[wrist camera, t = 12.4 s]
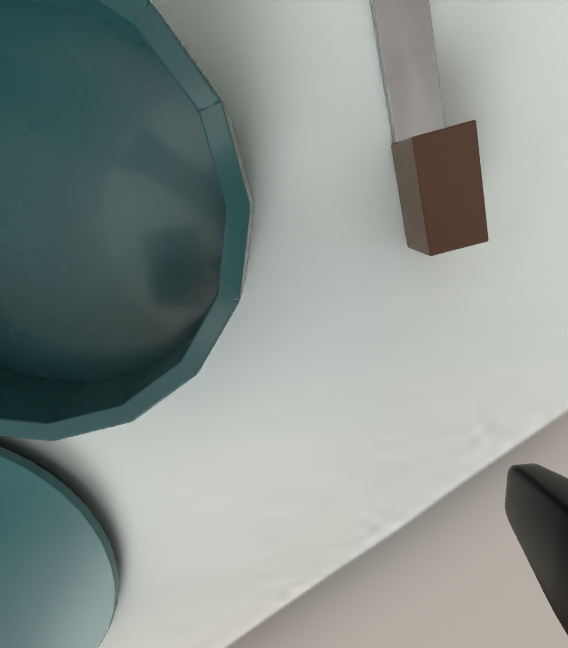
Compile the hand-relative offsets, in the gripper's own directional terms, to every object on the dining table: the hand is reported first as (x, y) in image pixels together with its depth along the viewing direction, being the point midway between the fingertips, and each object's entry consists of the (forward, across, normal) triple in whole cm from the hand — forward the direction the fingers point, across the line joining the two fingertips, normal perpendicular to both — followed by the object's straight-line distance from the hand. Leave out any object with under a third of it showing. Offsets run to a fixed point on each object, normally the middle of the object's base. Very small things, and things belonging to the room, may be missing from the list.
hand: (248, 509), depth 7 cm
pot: (+10, +7, -5) cm, 14 cm away
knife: (+10, -6, -7) cm, 14 cm away
